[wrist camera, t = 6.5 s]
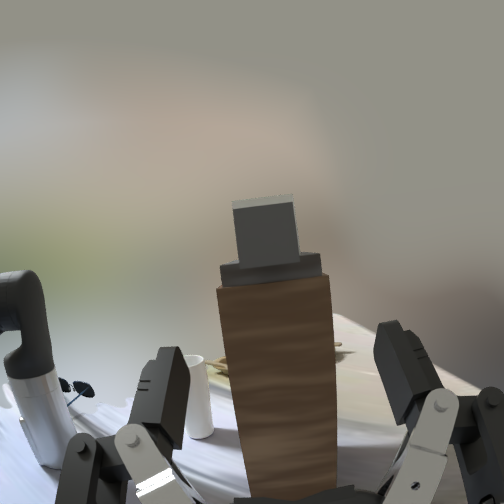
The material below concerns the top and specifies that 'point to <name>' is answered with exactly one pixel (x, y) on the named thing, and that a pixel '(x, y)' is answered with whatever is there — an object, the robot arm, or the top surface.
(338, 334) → the top surface
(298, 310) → the wood-grain topped box
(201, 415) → the drinking glass
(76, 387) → the sunglasses
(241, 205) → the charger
